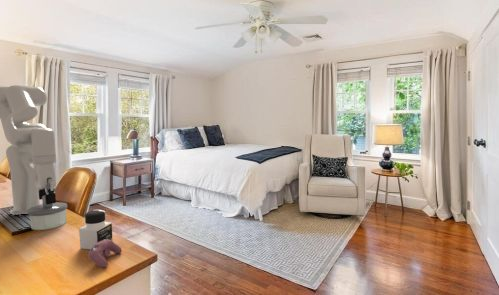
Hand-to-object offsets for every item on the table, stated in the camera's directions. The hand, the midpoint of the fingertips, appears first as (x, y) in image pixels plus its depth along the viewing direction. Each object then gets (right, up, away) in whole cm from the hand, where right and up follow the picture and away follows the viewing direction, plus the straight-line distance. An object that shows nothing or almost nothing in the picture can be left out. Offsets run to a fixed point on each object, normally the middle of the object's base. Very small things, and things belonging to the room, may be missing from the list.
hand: (47, 201), depth 111 cm
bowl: (0, -10, +1) cm, 10 cm away
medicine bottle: (+29, -12, -16) cm, 36 cm away
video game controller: (+37, -13, -26) cm, 48 cm away
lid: (0, -4, 0) cm, 4 cm away
